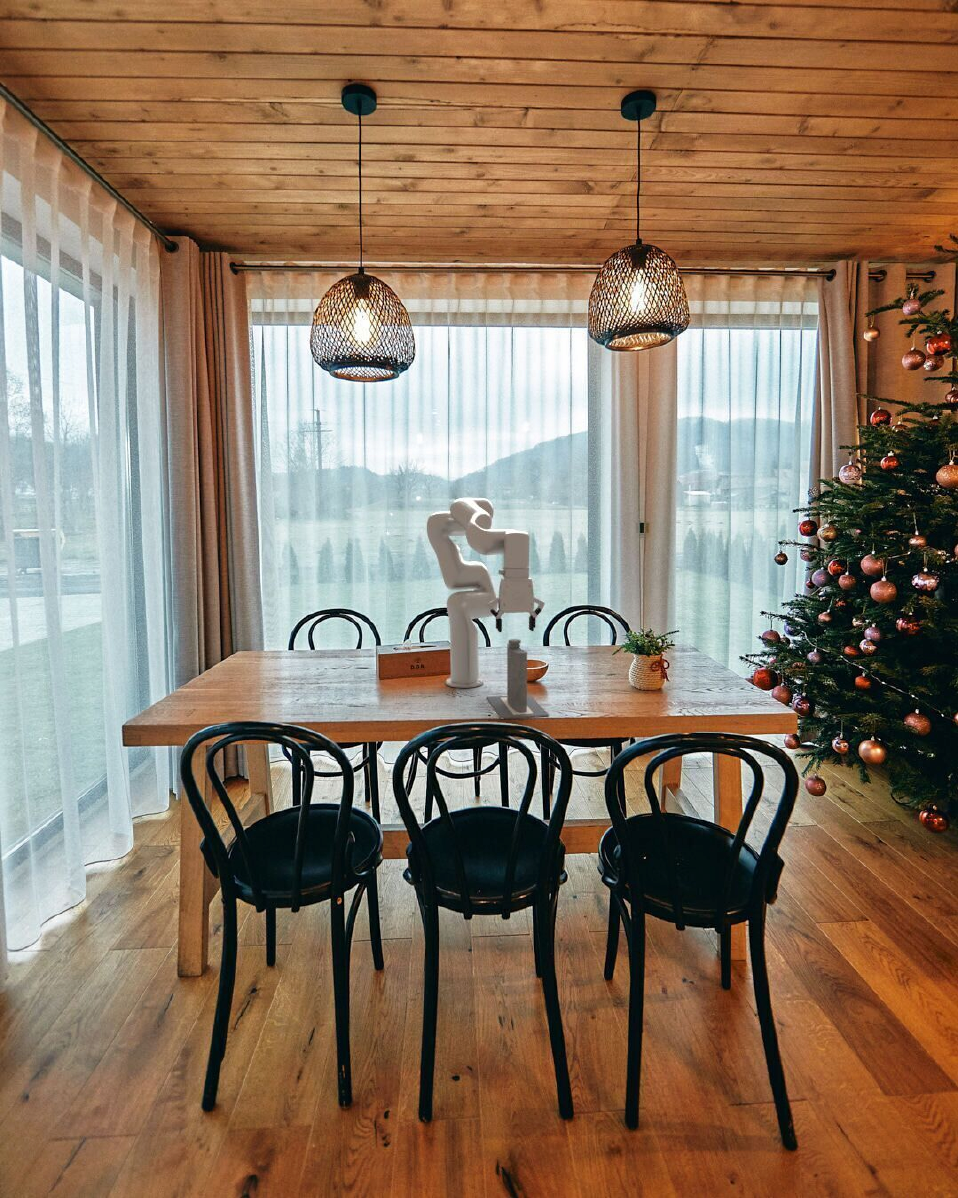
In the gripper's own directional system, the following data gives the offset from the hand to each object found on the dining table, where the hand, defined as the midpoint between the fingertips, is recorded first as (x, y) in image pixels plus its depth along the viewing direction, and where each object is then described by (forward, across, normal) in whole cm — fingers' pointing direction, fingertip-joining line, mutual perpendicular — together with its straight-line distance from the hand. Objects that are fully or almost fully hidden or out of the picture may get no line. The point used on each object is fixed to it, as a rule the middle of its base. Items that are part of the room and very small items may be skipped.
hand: (515, 630), depth 205 cm
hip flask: (+23, 0, -1) cm, 23 cm away
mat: (+23, 0, -1) cm, 23 cm away
